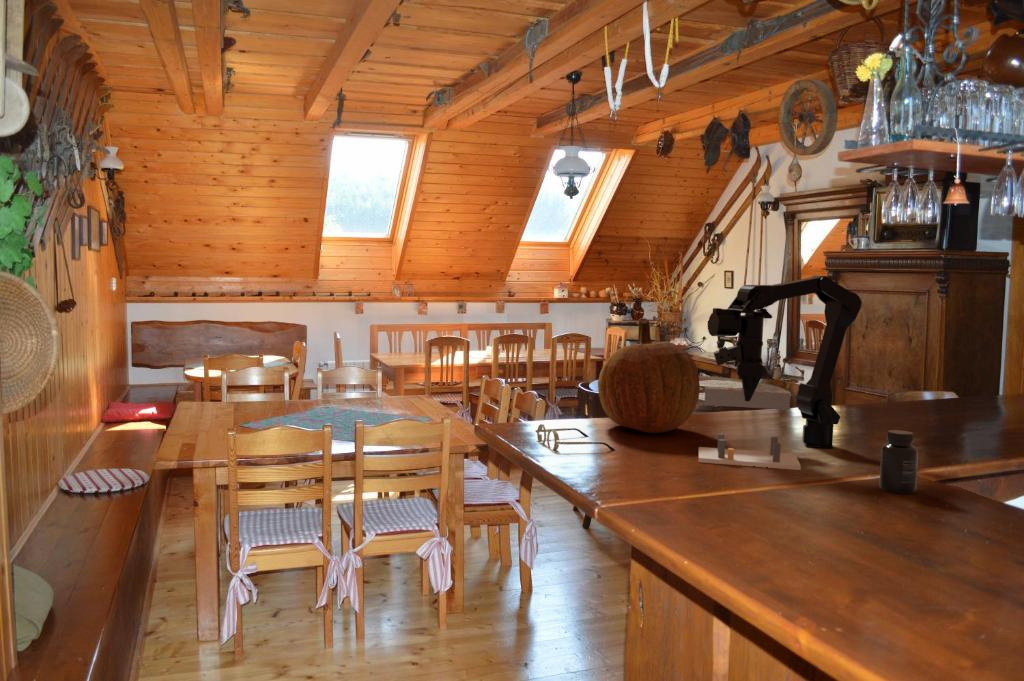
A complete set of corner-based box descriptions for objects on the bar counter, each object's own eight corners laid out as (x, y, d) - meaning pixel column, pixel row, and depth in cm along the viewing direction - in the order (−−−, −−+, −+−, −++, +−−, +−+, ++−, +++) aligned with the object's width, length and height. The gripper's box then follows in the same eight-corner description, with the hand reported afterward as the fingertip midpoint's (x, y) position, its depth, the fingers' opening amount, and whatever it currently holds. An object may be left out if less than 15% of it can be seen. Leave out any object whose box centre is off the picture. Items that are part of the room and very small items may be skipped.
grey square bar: (787, 407, 204) (789, 390, 204) (789, 410, 200) (790, 392, 200) (704, 401, 209) (705, 385, 209) (704, 404, 205) (705, 387, 205)
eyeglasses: (533, 440, 209) (533, 420, 209) (588, 437, 214) (589, 418, 214) (557, 455, 193) (558, 434, 193) (617, 452, 198) (618, 431, 198)
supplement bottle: (913, 487, 172) (917, 430, 170) (917, 496, 165) (922, 436, 164) (877, 484, 174) (881, 427, 173) (880, 492, 167) (884, 433, 166)
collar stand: (794, 458, 196) (795, 437, 195) (800, 470, 184) (801, 447, 183) (698, 450, 200) (699, 430, 200) (698, 462, 189) (699, 440, 188)
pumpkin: (575, 423, 231) (579, 315, 228) (658, 418, 242) (662, 315, 239) (626, 443, 206) (631, 323, 203) (716, 437, 217) (722, 322, 214)
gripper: (715, 332, 214) (712, 392, 215) (717, 338, 196) (713, 403, 197) (760, 334, 211) (757, 394, 213) (766, 340, 193) (762, 406, 195)
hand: (746, 399), depth 205 cm, fingers closed on grey square bar, 4 cm apart
